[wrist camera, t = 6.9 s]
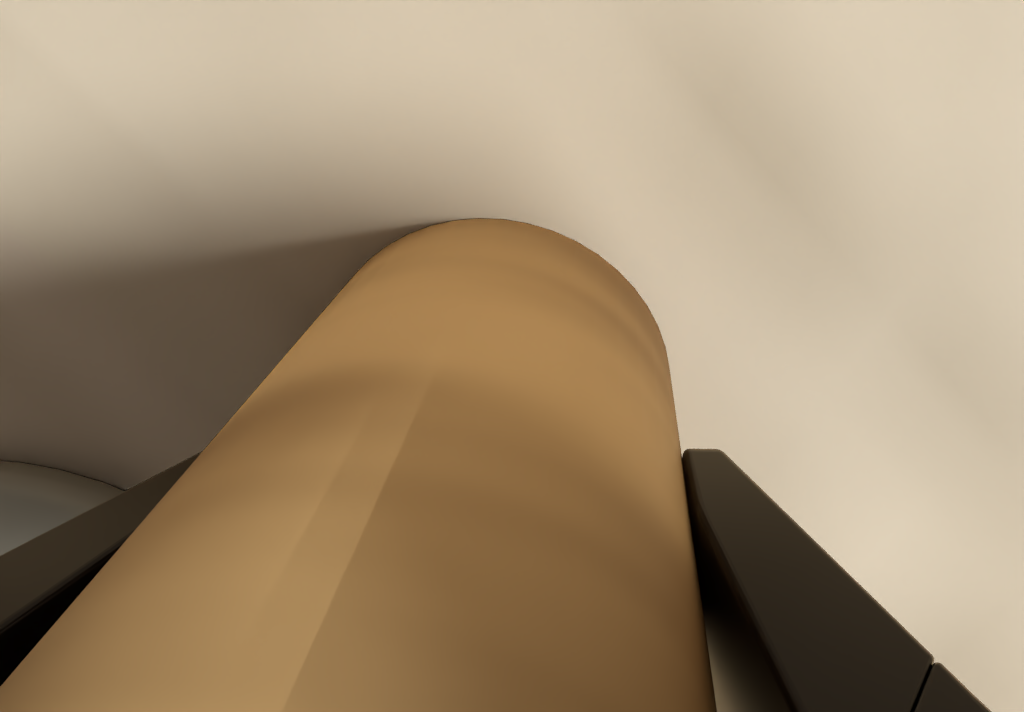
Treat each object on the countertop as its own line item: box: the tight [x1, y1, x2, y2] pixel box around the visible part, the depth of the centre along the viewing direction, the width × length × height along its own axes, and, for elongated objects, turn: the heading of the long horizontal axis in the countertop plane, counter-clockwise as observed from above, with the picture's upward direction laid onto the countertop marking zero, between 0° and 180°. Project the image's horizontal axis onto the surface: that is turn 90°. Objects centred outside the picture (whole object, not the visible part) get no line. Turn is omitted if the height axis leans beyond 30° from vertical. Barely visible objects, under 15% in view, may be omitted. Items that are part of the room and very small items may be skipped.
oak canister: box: [0, 218, 717, 712], centre depth 7 cm, size 5×5×8 cm
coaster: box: [0, 461, 125, 556], centre depth 14 cm, size 11×11×1 cm
